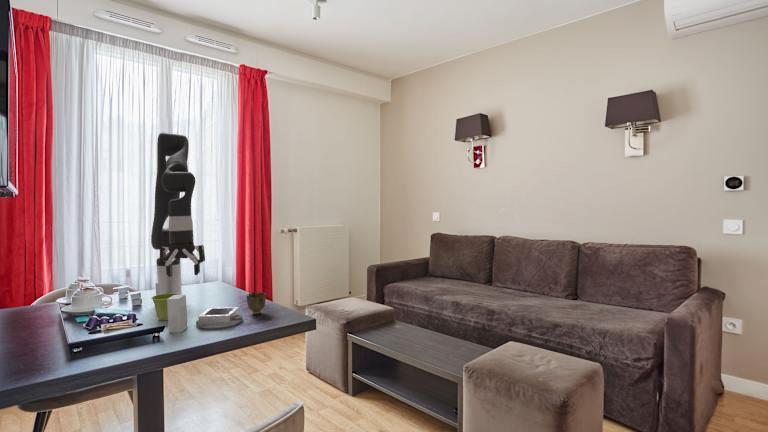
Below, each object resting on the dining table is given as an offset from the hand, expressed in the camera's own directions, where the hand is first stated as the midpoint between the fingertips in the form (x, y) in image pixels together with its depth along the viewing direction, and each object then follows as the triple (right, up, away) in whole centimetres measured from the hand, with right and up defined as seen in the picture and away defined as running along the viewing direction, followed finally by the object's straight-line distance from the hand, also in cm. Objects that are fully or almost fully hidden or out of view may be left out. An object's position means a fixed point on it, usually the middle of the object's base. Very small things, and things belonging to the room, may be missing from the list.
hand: (183, 275), depth 144 cm
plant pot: (-14, -19, +16) cm, 29 cm away
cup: (+20, -18, +19) cm, 33 cm away
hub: (+9, -19, +9) cm, 23 cm away
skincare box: (-2, -20, +1) cm, 20 cm away
